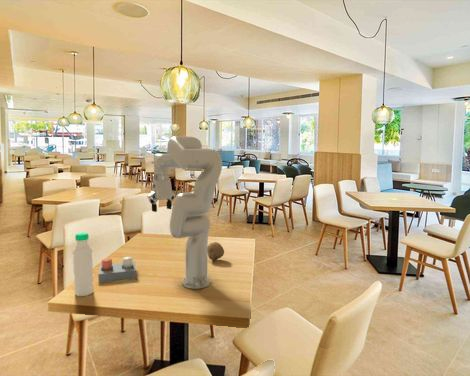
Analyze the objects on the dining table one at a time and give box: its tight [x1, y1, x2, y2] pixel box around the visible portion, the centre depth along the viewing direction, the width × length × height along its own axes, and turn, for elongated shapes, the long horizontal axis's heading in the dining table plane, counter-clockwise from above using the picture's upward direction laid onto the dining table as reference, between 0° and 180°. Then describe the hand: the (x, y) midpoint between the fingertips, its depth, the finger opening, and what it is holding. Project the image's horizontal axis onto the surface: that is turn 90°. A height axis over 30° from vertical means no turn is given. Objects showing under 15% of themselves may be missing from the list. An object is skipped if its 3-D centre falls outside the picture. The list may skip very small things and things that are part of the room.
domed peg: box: [122, 256, 134, 269], centre depth 156 cm, size 4×4×4 cm
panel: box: [97, 261, 137, 284], centre depth 155 cm, size 12×16×4 cm
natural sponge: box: [207, 241, 225, 262], centre depth 177 cm, size 9×9×10 cm
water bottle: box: [72, 232, 94, 297], centre depth 135 cm, size 7×7×25 cm
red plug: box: [101, 258, 113, 271], centre depth 153 cm, size 4×4×4 cm
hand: (161, 210), depth 175 cm, fingers open, 9 cm apart
